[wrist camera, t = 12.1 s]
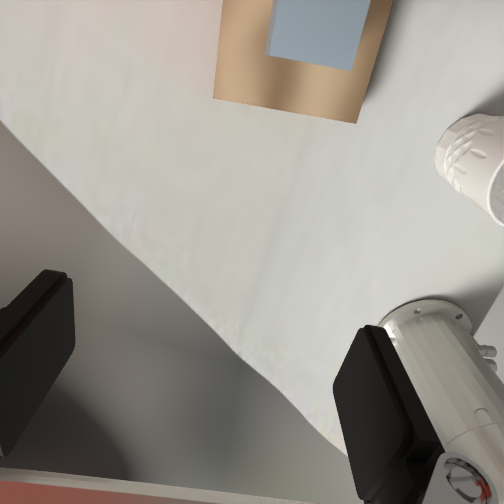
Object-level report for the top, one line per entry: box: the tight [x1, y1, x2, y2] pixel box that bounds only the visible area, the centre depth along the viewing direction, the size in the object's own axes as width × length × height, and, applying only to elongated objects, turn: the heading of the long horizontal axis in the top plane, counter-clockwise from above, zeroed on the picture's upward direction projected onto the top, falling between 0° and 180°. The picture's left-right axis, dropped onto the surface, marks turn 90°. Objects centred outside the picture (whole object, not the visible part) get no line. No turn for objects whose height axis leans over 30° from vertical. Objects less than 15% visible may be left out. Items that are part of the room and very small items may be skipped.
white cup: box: [434, 113, 504, 226], centre depth 30 cm, size 8×8×10 cm
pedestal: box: [213, 0, 393, 124], centre depth 27 cm, size 12×12×4 cm
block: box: [264, 0, 371, 71], centre depth 22 cm, size 5×5×7 cm
